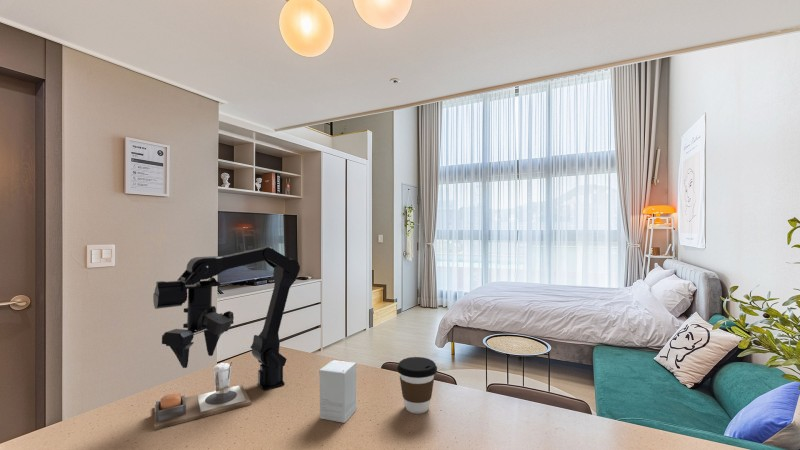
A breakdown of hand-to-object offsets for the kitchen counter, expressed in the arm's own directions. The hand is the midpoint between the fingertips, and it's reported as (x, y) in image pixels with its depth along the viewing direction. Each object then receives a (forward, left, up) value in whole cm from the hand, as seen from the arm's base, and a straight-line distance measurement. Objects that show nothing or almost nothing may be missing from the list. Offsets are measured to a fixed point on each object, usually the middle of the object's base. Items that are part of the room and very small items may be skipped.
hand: (198, 361), depth 96 cm
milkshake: (-6, -1, -12) cm, 13 cm away
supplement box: (-30, +24, -13) cm, 41 cm away
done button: (+6, +1, -11) cm, 12 cm away
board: (-1, 0, -13) cm, 13 cm away
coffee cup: (-49, +33, -13) cm, 61 cm away
